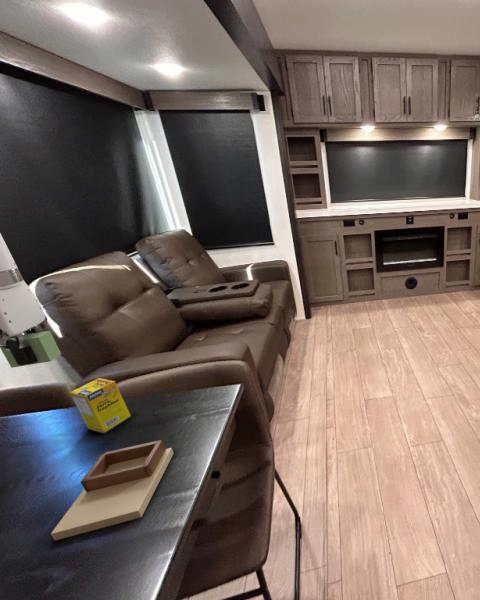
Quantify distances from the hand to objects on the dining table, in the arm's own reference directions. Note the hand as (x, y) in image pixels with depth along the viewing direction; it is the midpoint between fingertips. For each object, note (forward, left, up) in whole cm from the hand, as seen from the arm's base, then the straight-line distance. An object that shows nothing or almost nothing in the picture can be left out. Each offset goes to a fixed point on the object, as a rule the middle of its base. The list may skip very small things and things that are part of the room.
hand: (35, 358), depth 71 cm
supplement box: (+10, -4, -19) cm, 22 cm away
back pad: (0, 0, -1) cm, 1 cm away
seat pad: (+24, -27, -18) cm, 40 cm away
